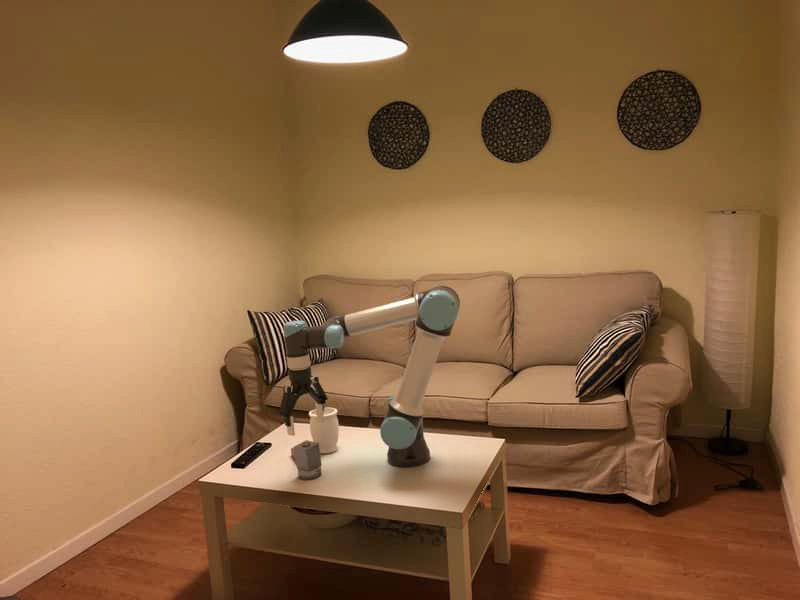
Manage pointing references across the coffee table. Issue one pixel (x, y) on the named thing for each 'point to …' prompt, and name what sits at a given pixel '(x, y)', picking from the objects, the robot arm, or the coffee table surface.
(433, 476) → the coffee table surface
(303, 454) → the grey block
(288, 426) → the robot arm
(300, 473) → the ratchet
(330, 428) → the jar
